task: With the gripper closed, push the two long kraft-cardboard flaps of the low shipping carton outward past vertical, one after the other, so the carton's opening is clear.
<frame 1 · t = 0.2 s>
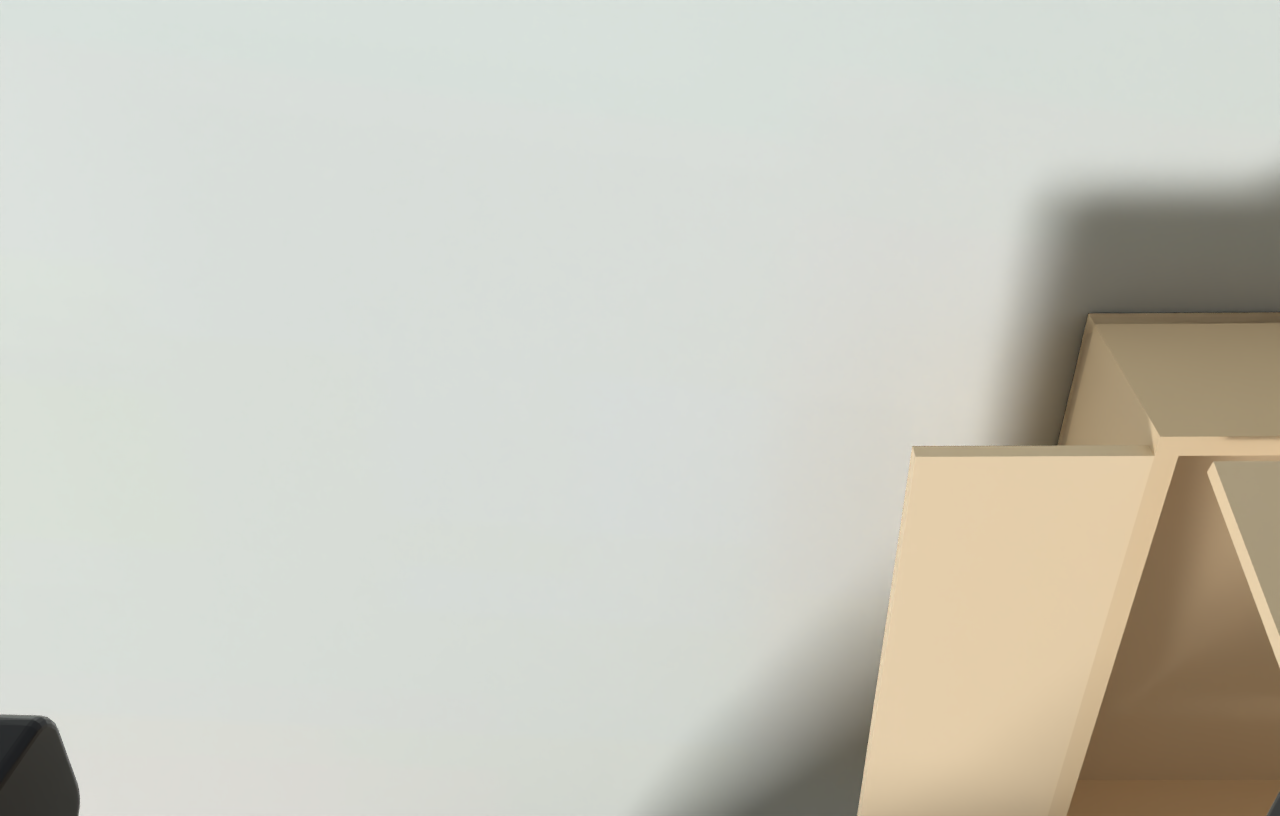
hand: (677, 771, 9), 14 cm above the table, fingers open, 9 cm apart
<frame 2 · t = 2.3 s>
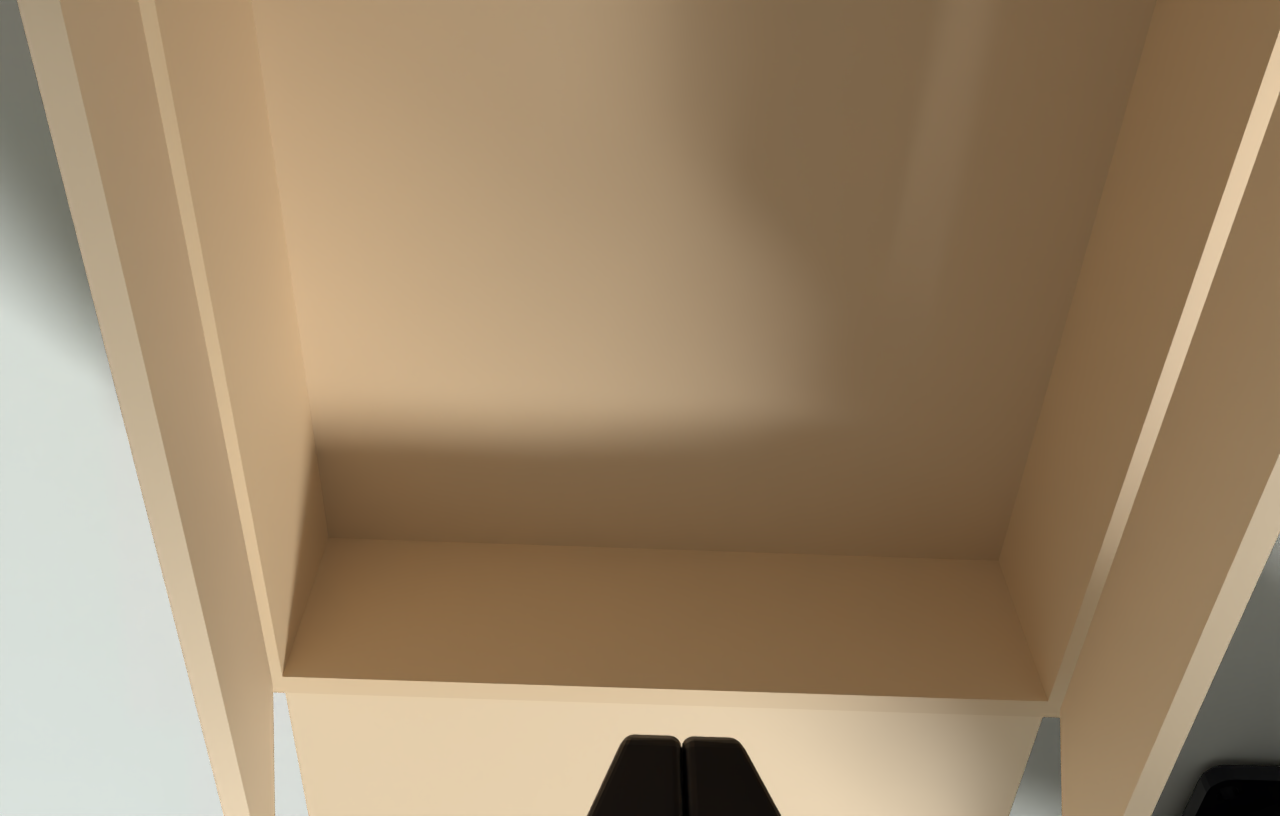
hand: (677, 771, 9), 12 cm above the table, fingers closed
flap 1: (1251, 367, 14), point 7 cm above the table, hinge at -15.0°
flap 2: (161, 327, 13), point 7 cm above the table, hinge at -15.0°
carton: (692, 124, 19), on the table
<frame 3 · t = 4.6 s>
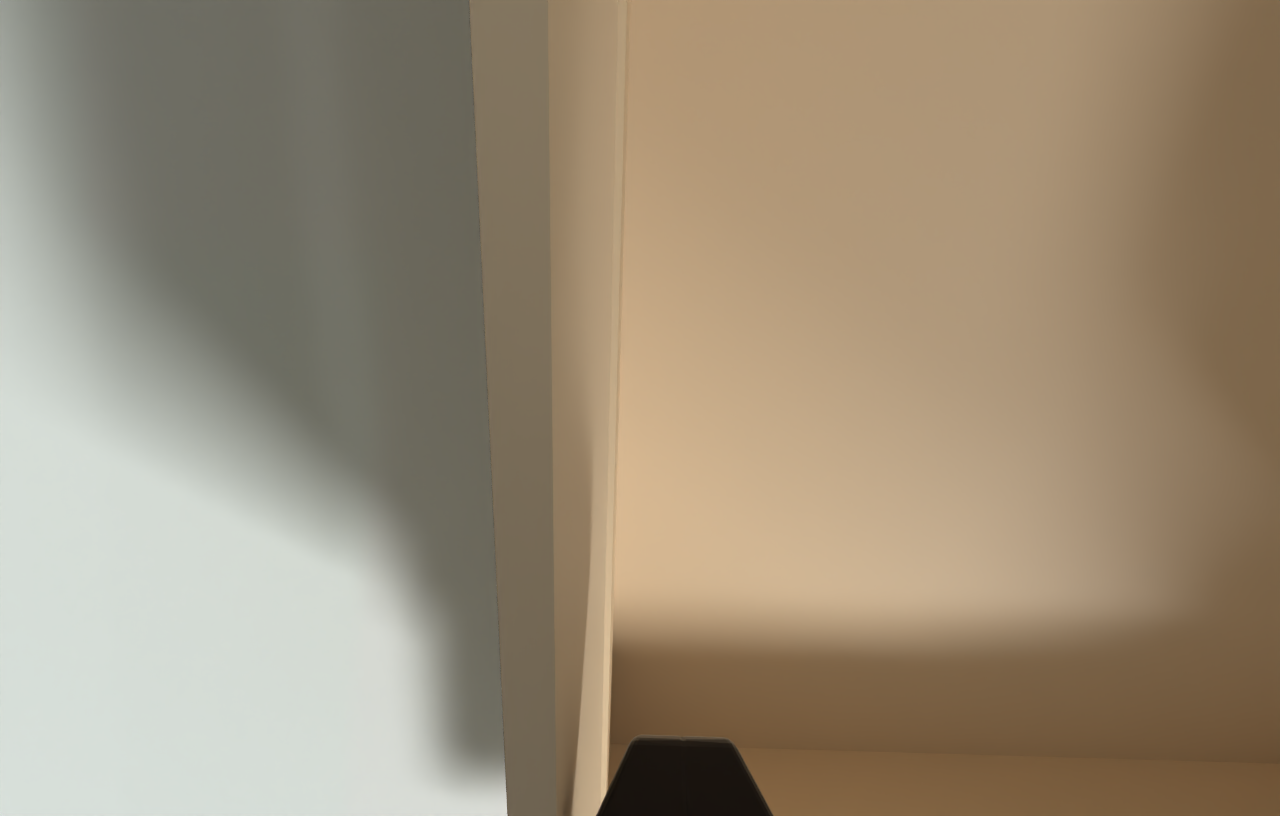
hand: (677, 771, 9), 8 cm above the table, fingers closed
flap 2: (568, 662, 10), point 7 cm above the table, hinge at 2.5°, touching gripper
carton: (1137, 288, 15), on the table
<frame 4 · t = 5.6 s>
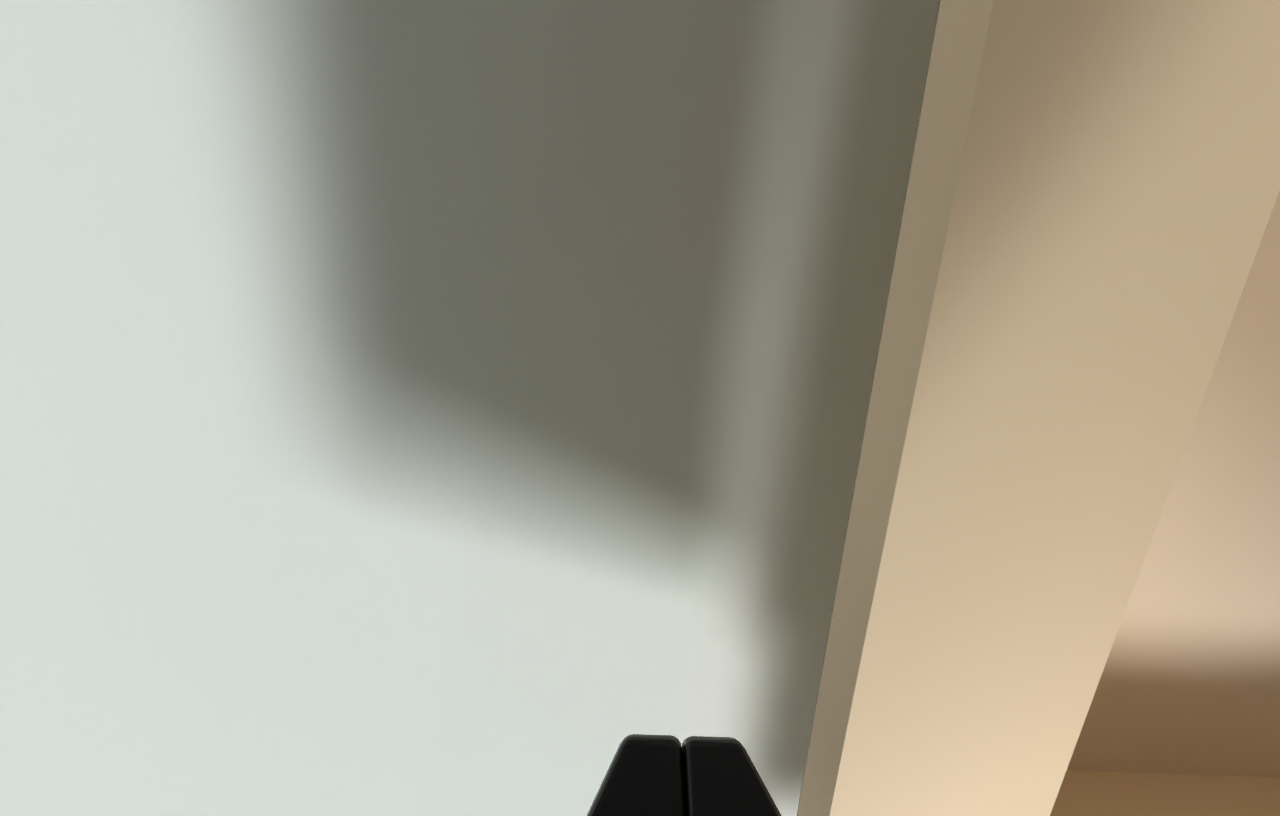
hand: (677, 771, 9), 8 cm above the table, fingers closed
flap 2: (1001, 626, 10), point 6 cm above the table, hinge at 48.9°
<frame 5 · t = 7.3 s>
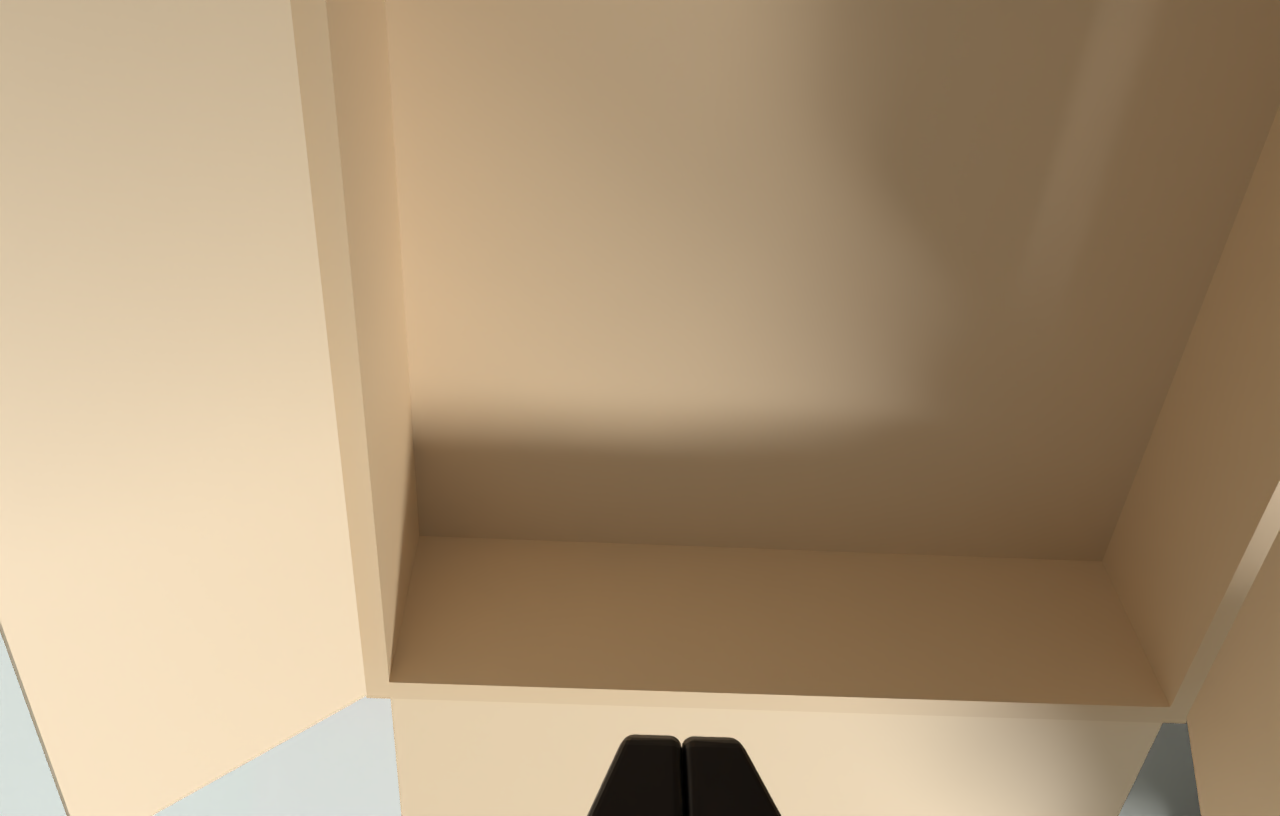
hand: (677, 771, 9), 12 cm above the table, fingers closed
flap 2: (124, 282, 13), point 6 cm above the table, hinge at 48.9°
carton: (830, 114, 18), on the table
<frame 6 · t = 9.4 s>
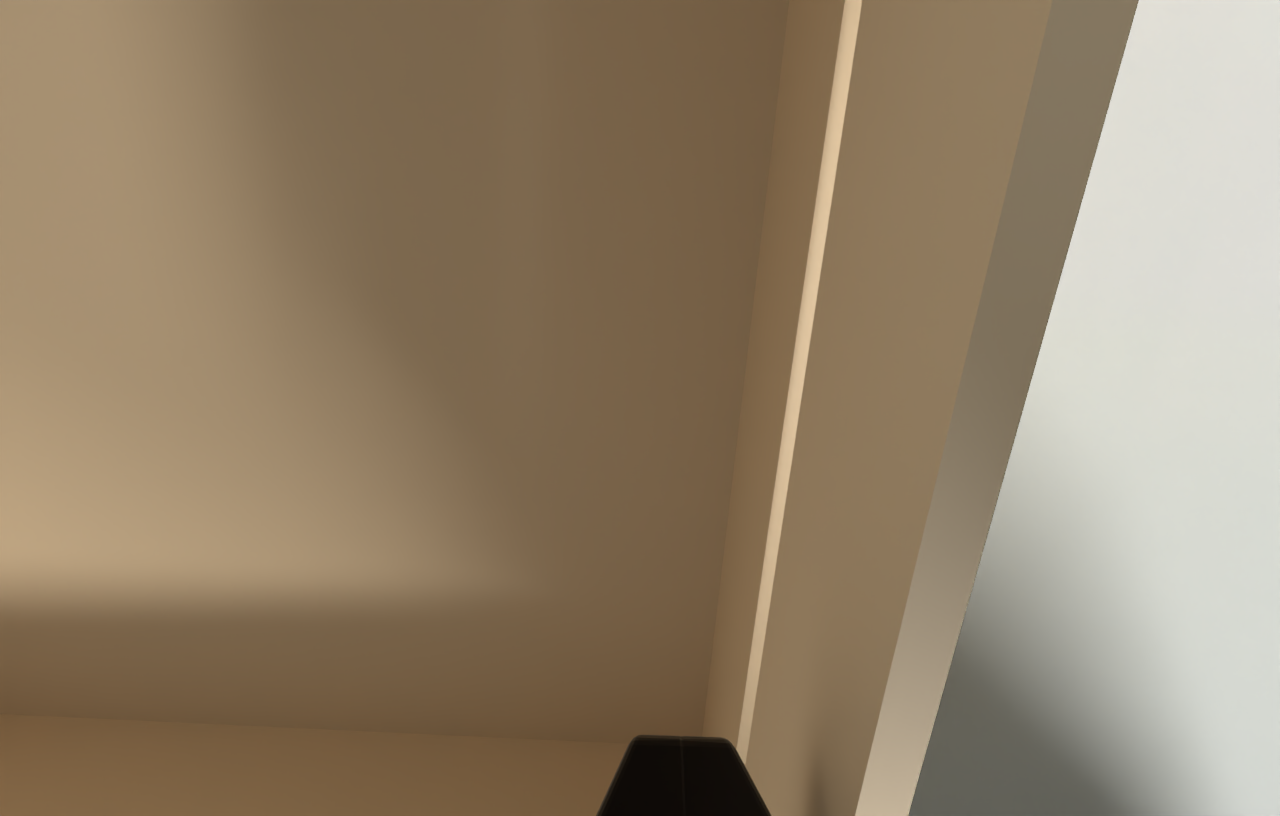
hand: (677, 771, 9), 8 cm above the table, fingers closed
flap 1: (820, 677, 9), point 7 cm above the table, hinge at -1.4°, touching gripper
carton: (225, 242, 15), on the table
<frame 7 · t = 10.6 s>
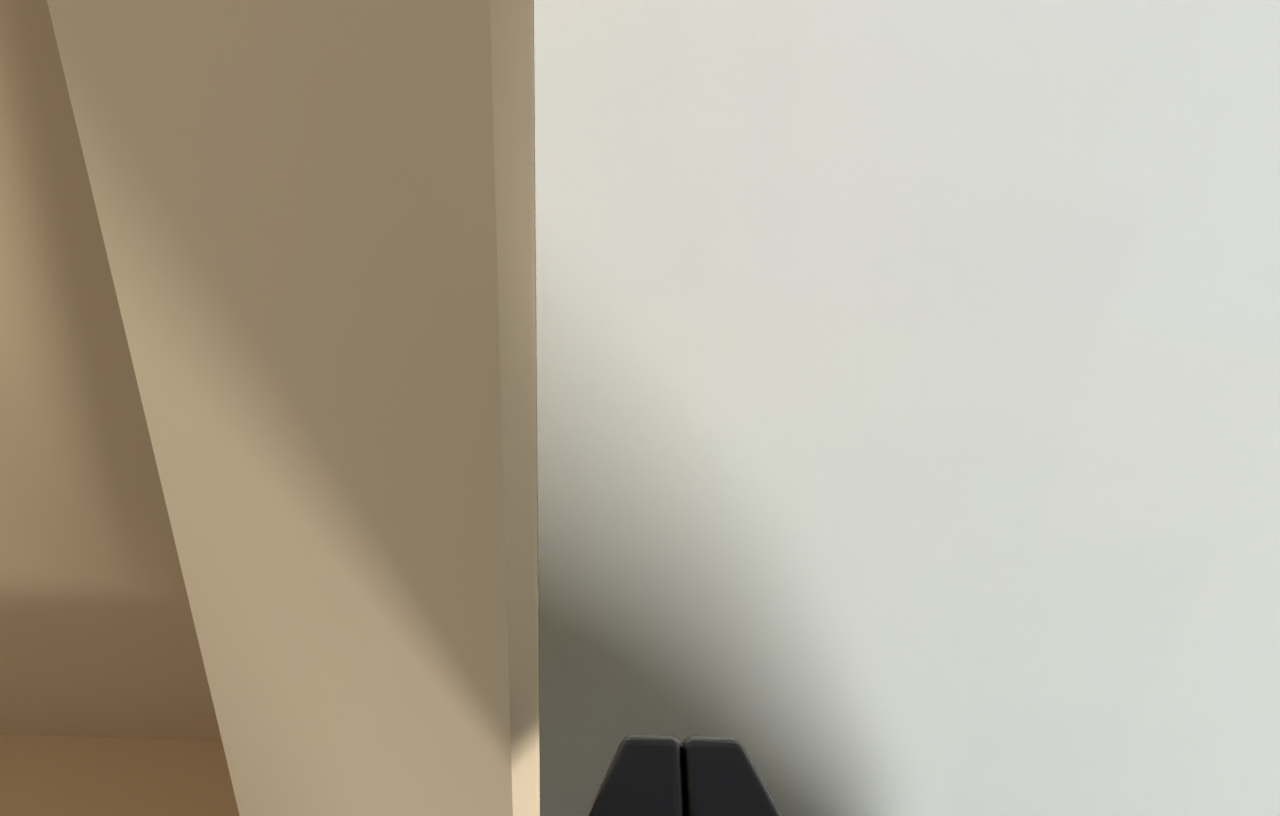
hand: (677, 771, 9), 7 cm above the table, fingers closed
flap 1: (331, 599, 10), point 6 cm above the table, hinge at 50.8°
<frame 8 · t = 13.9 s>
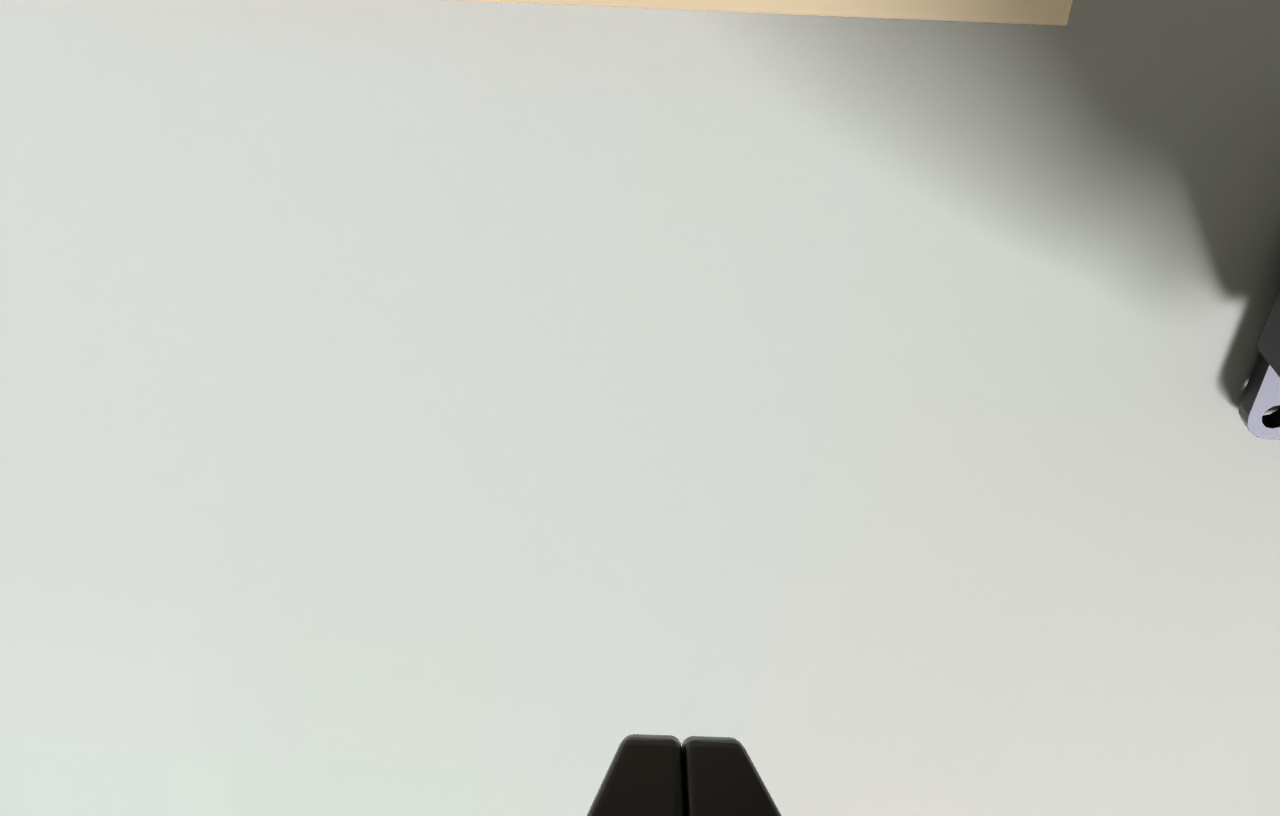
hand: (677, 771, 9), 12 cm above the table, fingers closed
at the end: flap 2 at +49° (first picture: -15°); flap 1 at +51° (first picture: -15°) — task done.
